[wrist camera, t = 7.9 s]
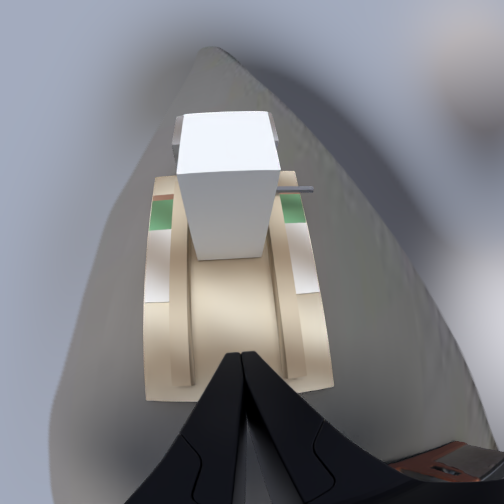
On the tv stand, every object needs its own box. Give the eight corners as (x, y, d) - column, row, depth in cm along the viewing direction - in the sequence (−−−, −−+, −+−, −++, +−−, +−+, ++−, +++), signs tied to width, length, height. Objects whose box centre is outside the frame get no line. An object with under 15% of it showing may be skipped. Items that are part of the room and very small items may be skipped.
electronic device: (354, 467, 13) (419, 502, 6) (454, 438, 13) (523, 440, 6) (346, 516, 11) (398, 562, 4) (447, 482, 11) (509, 495, 4)
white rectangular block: (317, 253, 18) (364, 172, 11) (197, 260, 17) (176, 174, 10) (306, 204, 20) (338, 116, 12) (197, 207, 19) (184, 114, 12)
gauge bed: (328, 386, 15) (373, 387, 10) (150, 399, 14) (110, 407, 9) (290, 170, 23) (304, 114, 17) (159, 176, 21) (144, 120, 16)
